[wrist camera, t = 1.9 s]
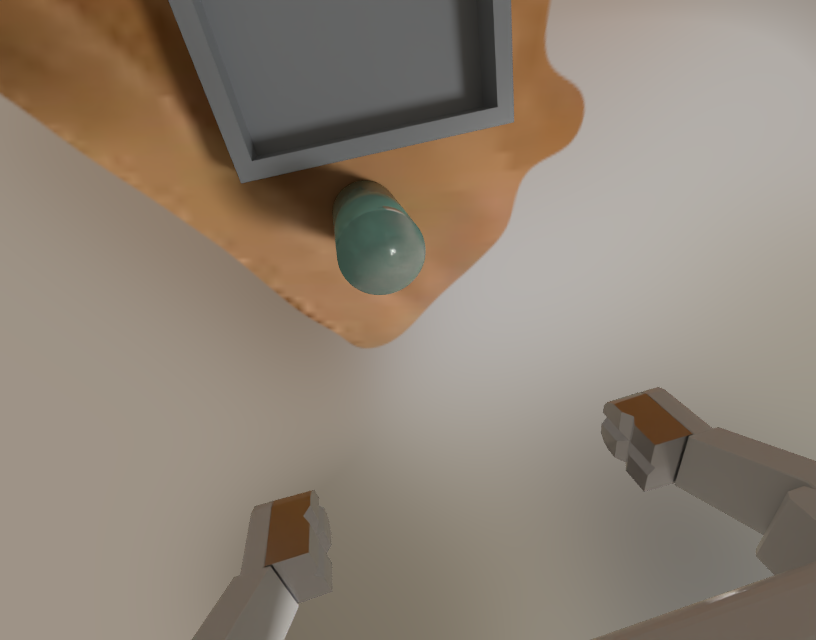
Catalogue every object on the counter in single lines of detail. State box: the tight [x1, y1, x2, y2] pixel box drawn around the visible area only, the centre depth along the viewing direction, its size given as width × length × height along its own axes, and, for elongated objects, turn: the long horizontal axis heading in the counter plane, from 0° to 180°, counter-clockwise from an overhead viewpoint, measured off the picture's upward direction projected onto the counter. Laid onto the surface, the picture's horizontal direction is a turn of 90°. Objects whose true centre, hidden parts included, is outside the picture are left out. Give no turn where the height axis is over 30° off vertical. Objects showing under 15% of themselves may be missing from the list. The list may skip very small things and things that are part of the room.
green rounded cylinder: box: [332, 180, 425, 295], centre depth 28 cm, size 6×6×10 cm
